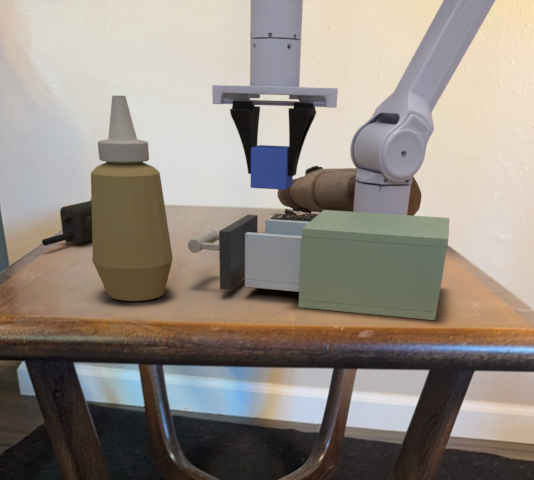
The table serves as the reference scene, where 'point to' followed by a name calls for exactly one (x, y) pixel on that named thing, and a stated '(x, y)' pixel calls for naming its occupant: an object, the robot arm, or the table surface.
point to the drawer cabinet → (373, 263)
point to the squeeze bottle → (128, 214)
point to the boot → (331, 191)
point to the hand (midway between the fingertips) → (272, 174)
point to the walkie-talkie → (74, 224)
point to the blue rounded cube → (270, 167)
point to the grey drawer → (256, 253)
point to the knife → (289, 212)
